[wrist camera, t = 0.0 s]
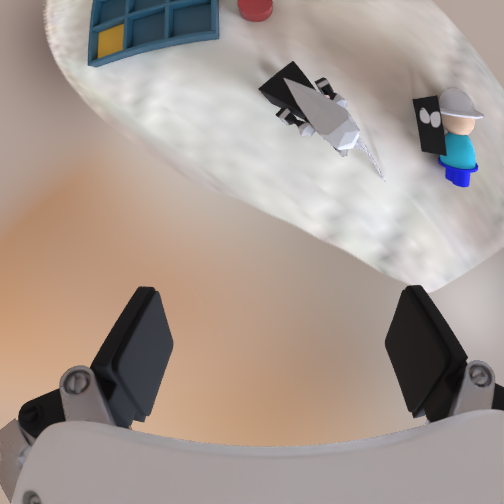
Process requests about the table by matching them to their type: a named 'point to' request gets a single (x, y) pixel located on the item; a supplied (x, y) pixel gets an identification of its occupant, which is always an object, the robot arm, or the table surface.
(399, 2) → the table surface
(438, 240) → the table surface
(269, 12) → the cylinder
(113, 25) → the grid
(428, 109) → the toy
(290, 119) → the toy
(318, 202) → the table surface
